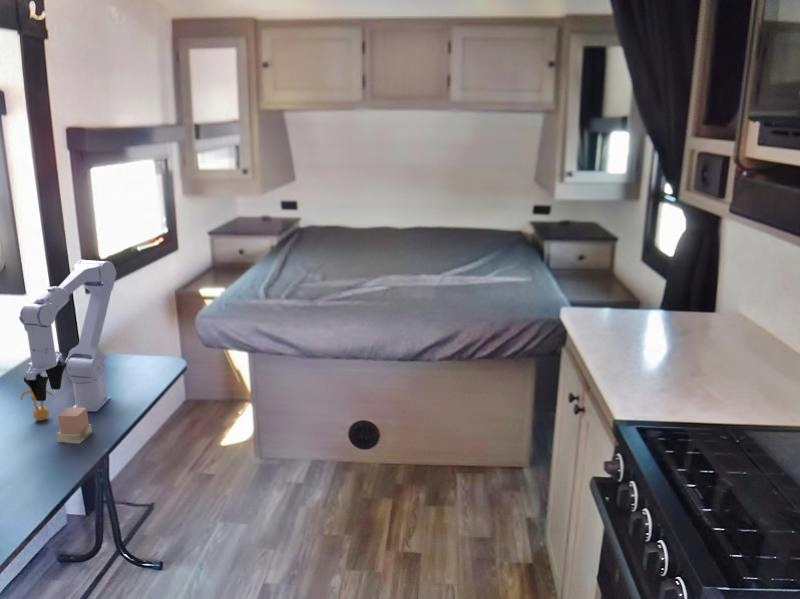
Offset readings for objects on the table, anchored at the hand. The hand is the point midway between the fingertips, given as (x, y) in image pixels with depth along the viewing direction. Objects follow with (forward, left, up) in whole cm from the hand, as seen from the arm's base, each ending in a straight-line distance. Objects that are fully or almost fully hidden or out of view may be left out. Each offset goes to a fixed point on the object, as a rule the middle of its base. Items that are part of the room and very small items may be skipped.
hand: (48, 394), depth 172 cm
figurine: (-4, -6, -11) cm, 13 cm away
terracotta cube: (+5, +8, -8) cm, 12 cm away
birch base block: (+5, +8, -11) cm, 14 cm away
